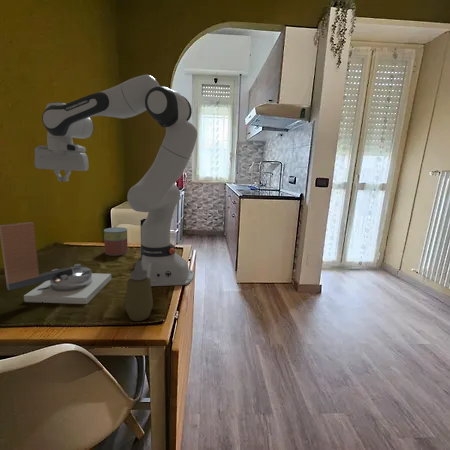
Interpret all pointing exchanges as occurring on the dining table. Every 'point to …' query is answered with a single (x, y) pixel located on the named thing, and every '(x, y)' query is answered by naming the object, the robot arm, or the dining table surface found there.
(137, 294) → the squeeze bottle
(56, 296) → the white square board
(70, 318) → the dining table surface
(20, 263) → the silver brown l-shaped piece
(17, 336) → the dining table surface
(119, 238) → the canned food
